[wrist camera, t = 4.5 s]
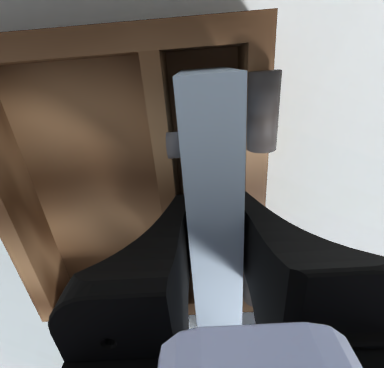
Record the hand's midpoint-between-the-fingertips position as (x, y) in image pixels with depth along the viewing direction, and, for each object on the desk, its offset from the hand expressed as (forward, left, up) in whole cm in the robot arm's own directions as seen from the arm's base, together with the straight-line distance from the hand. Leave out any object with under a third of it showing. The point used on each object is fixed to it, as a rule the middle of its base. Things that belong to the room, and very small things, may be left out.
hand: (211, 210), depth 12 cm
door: (0, 0, -3) cm, 3 cm away
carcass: (0, +4, -4) cm, 6 cm away
